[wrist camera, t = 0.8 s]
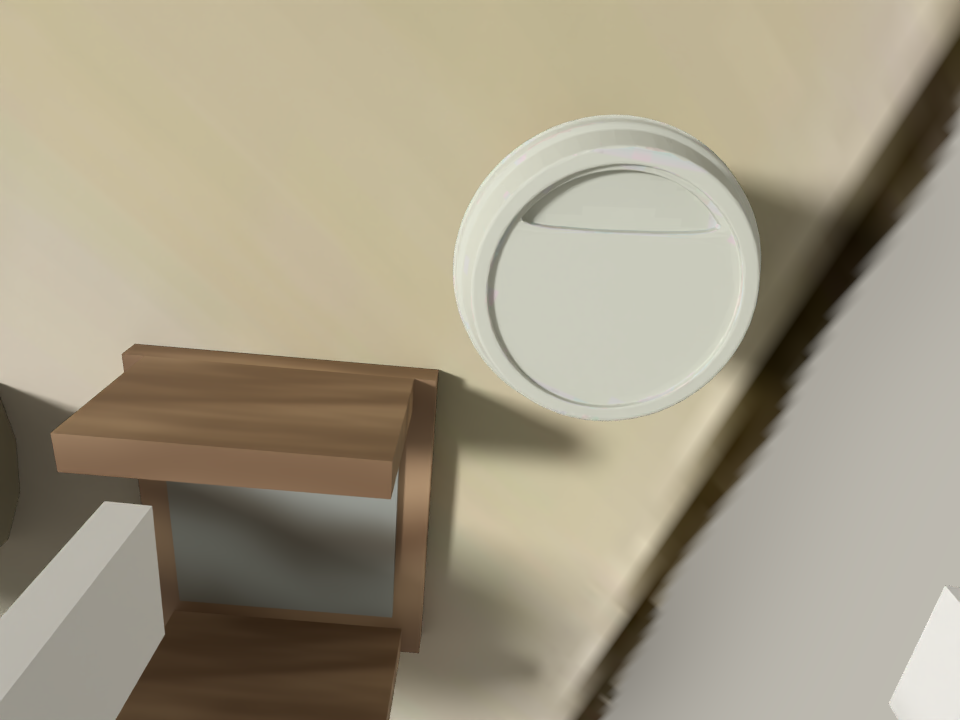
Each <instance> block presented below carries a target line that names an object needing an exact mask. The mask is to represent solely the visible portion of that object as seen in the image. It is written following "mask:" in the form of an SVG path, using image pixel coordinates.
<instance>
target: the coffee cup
mask: <svg viewBox="0 0 960 720" xmlns="http://www.w3.org/2000/svg"><path fill="white" fill-rule="evenodd" d="M760 271H761V247H760V238H759V232H758V227H757V223H756V220H755V216H754V213H753V211H752V208H751V206H750V203H749V201H748V199H747V197H746V195H745V193H744V191H743V190H742V188H741V186H740V185H739V183H738V182H737V180H736V178H735V177H734V175H733V174H732V172H731V171H730V170H729V168H728V167H727V166H726V165H725V164H724V162H723V161H722V160H721V159H720V158H719V157H718V156H717V155H716V154H715V153H714V152H713V151H712V150H710V149H709V148H708V147H707V146H706V145H704V144H703V143H702V142H700V141H699V140H697V139H696V138H694V137H693V136H691V135H689V134H688V133H686V132H684V131H682V130H680V129H678V128H676V127H673V126H671V125H668V124H666V123H663V122H660V121H656V120H652V119H648V118H643V117H637V116H629V115H600V116H592V117H586V118H581V119H577V120H573V121H569V122H566V123H563V124H560V125H557V126H555V127H552V128H550V129H548V130H546V131H544V132H542V133H540V134H538V135H536V136H534V137H532V138H531V139H529V140H527V141H526V142H524V143H523V144H521V145H520V146H519V147H517V148H516V149H515V150H513V151H512V152H511V153H510V154H509V155H507V156H506V157H505V158H504V159H503V160H502V161H501V162H500V163H499V164H498V165H497V166H496V167H495V168H494V169H493V170H492V171H491V173H490V174H489V175H488V176H487V177H486V179H485V180H484V181H483V183H482V184H481V186H480V187H479V188H478V190H477V192H476V193H475V195H474V197H473V198H472V200H471V202H470V204H469V206H468V208H467V210H466V212H465V215H464V217H463V220H462V223H461V226H460V229H459V232H458V236H457V240H456V245H455V251H454V260H453V282H454V291H455V297H456V302H457V306H458V310H459V313H460V316H461V319H462V322H463V324H464V326H465V329H466V331H467V333H468V335H469V338H470V340H471V341H472V343H473V345H474V347H475V349H476V350H477V352H478V353H479V355H480V356H481V358H482V359H483V360H484V362H485V363H486V364H487V365H488V366H489V367H490V369H491V370H492V371H493V372H494V373H495V374H496V375H497V376H498V377H499V378H500V379H501V380H503V381H504V382H505V383H506V384H507V385H509V386H510V387H511V388H513V389H514V390H516V391H517V392H519V393H520V394H522V395H523V396H525V397H526V398H528V399H529V400H531V401H533V402H534V403H536V404H538V405H540V406H542V407H544V408H546V409H549V410H551V411H554V412H556V413H558V414H562V415H566V416H569V417H573V418H578V419H584V420H594V421H618V420H626V419H633V418H637V417H642V416H646V415H650V414H653V413H656V412H659V411H661V410H664V409H666V408H669V407H671V406H673V405H675V404H677V403H679V402H681V401H683V400H684V399H686V398H687V397H689V396H691V395H692V394H694V393H695V392H697V391H698V390H699V389H701V388H702V387H703V386H704V385H706V384H707V383H708V382H709V381H710V380H711V379H712V378H713V377H714V376H716V375H717V374H718V373H719V372H720V371H721V370H722V368H723V367H724V366H725V365H726V363H727V362H728V361H729V360H730V358H731V357H732V356H733V355H734V353H735V351H736V350H737V348H738V347H739V345H740V343H741V342H742V340H743V338H744V336H745V334H746V332H747V330H748V328H749V325H750V323H751V320H752V317H753V314H754V310H755V307H756V304H757V298H758V292H759V283H760Z"/></svg>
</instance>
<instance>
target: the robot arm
mask: <svg viewBox="0 0 960 720" xmlns="http://www.w3.org/2000/svg"><path fill="white" fill-rule="evenodd" d="M164 635H165V630H164V620H163V610H162V600H161V590H160V580H159V570H158V560H157V550H156V540H155V530H154V520H153V510H152V506H148V505H138V504H128V503H118V502H108V501H104V502H103V503H102V505H101V506H100V507H99V508H98V509H97V510H96V511H95V512H94V513H93V515H92V516H91V517H90V518H89V519H88V520H87V521H86V522H85V524H84V525H83V526H82V527H81V528H80V529H79V530H78V531H77V533H76V534H75V535H74V536H73V537H72V538H71V539H70V540H69V542H68V543H67V544H66V545H65V546H64V547H63V548H62V549H61V550H60V552H59V553H58V554H57V555H56V556H55V557H54V558H53V559H52V561H51V562H50V563H49V564H48V565H47V566H46V567H45V568H44V570H43V571H42V572H41V573H40V574H39V575H38V576H37V577H36V578H35V580H34V581H33V582H32V583H31V584H30V585H29V586H28V587H27V589H26V590H25V591H24V592H23V593H22V594H21V595H20V596H19V598H18V599H17V600H16V601H15V602H14V603H13V604H12V605H11V606H10V608H9V609H8V610H7V611H6V612H5V613H4V614H3V615H2V617H1V618H0V720H116V718H117V716H118V714H119V713H120V711H121V709H122V708H123V706H124V704H125V702H126V701H127V699H128V697H129V695H130V694H131V692H132V690H133V689H134V687H135V685H136V683H137V682H138V680H139V678H140V676H141V675H142V673H143V671H144V670H145V668H146V666H147V664H148V663H149V661H150V659H151V657H152V656H153V654H154V652H155V651H156V649H157V647H158V645H159V644H160V642H161V640H162V638H163V637H164ZM889 705H890V707H891V709H892V710H893V712H894V714H895V715H896V717H897V718H898V720H960V587H953V586H945V587H944V589H943V591H942V593H941V596H940V597H939V599H938V602H937V604H936V606H935V608H934V610H933V612H932V614H931V616H930V618H929V620H928V623H927V625H926V627H925V629H924V631H923V633H922V635H921V637H920V639H919V641H918V643H917V645H916V648H915V650H914V652H913V654H912V656H911V658H910V660H909V662H908V664H907V667H906V669H905V671H904V673H903V675H902V677H901V679H900V681H899V683H898V685H897V687H896V689H895V692H894V694H893V696H892V698H891V700H890V702H889Z"/></svg>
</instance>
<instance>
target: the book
mask: <svg viewBox="0 0 960 720" xmlns="http://www.w3.org/2000/svg"><path fill="white" fill-rule="evenodd" d="M19 494H20V486H19V474H18V461H17V448H16V439H15V436H14V434H13V431H12V428H11V426H10V423H9V420H8V418H7V415H6V412H5V410H4V407H3V404H2V401H1V399H0V547H1V546H2V545H3V544H4V543H5V542H6V541H7V540H8V537H9V533H10V530H11V526H12V522H13V518H14V514H15V510H16V506H17V502H18V498H19Z"/></svg>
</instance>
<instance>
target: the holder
mask: <svg viewBox="0 0 960 720" xmlns="http://www.w3.org/2000/svg"><path fill="white" fill-rule="evenodd" d="M122 360H123V367H124V373H123V374H122V375H121V376H119V377H118V378H117V379H116V380H114V381H113V382H112V383H111V384H110V385H108V386H107V387H106V388H105V389H103V390H102V391H101V392H100V393H99V394H97V395H96V396H95V397H94V398H93V399H91V400H90V401H89V402H88V403H86V404H85V405H84V406H83V407H82V408H80V409H79V410H78V411H77V412H75V413H74V414H73V415H72V416H71V417H69V418H68V419H67V420H66V421H64V422H63V423H62V424H61V425H60V426H58V427H57V428H56V429H55V430H53V431H52V432H51V433H50V434H51V439H52V444H53V450H54V455H55V461H56V466H57V472H64V473H76V474H88V475H100V476H112V477H124V478H136V479H138V482H139V489H140V497H141V505H148V506H152V510H153V520H154V530H155V540H156V550H157V560H158V570H159V580H160V590H161V600H162V610H163V620H164V630H165V635H164V637H163V638H162V640H161V642H160V644H159V645H158V647H157V649H156V651H155V652H154V654H153V656H152V657H151V659H150V661H149V663H148V664H147V666H146V668H145V670H144V671H143V673H142V675H141V676H140V678H139V680H138V682H137V683H136V685H135V687H134V689H133V690H132V692H131V694H130V695H129V697H128V699H127V701H126V702H125V704H124V706H123V708H122V709H121V711H120V713H119V714H118V716H117V718H116V720H389V718H390V712H391V706H392V700H393V694H394V687H395V681H396V675H397V669H398V663H399V657H400V652H413V653H419V649H420V641H421V631H422V616H423V600H424V585H425V570H426V554H427V539H428V524H429V509H430V493H431V478H432V463H433V447H434V432H435V417H436V401H437V386H438V371H439V370H435V369H423V368H411V367H399V366H387V365H376V364H364V363H352V362H340V361H329V360H317V359H305V358H293V357H282V356H270V355H258V354H246V353H234V352H223V351H211V350H199V349H187V348H176V347H164V346H152V345H140V344H134V345H133V346H132V347H130V348H129V349H128V350H126V351H125V352H124V353H122Z"/></svg>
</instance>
